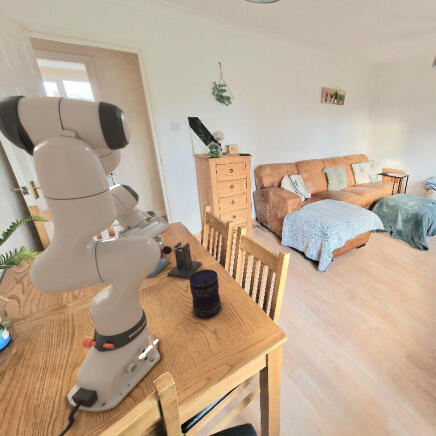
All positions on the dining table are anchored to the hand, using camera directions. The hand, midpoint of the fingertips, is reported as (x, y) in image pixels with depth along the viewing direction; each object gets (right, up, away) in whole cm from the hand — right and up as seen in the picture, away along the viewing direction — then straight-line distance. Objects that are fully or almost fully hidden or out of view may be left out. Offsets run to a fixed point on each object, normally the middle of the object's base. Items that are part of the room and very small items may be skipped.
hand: (162, 246), depth 98 cm
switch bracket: (+2, -13, +16) cm, 21 cm away
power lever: (+2, -4, +6) cm, 7 cm away
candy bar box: (-18, -8, +28) cm, 34 cm away
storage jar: (+21, -24, -6) cm, 32 cm away
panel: (-14, -13, +16) cm, 25 cm away
